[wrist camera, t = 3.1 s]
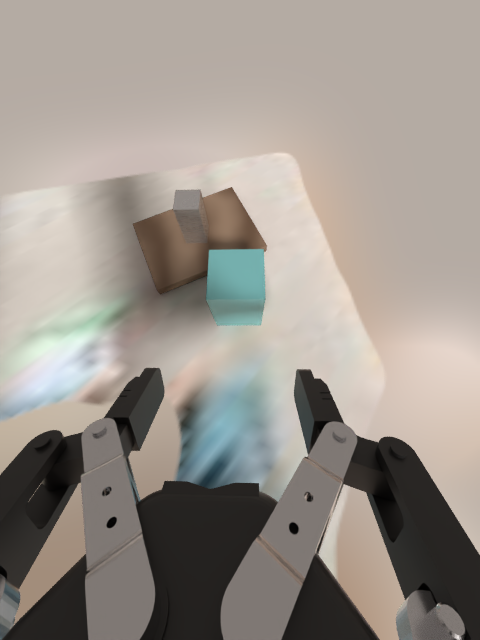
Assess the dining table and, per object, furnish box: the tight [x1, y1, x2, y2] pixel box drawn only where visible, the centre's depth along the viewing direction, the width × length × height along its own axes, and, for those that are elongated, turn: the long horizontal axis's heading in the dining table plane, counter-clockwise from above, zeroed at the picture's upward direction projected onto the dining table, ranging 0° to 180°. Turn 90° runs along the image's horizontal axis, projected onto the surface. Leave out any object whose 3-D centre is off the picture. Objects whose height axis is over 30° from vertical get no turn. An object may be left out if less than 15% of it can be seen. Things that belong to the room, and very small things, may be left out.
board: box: [133, 187, 267, 294], centre depth 33 cm, size 16×12×1 cm
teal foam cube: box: [206, 249, 265, 325], centre depth 26 cm, size 6×6×8 cm
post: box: [173, 190, 209, 243], centre depth 30 cm, size 3×3×6 cm
